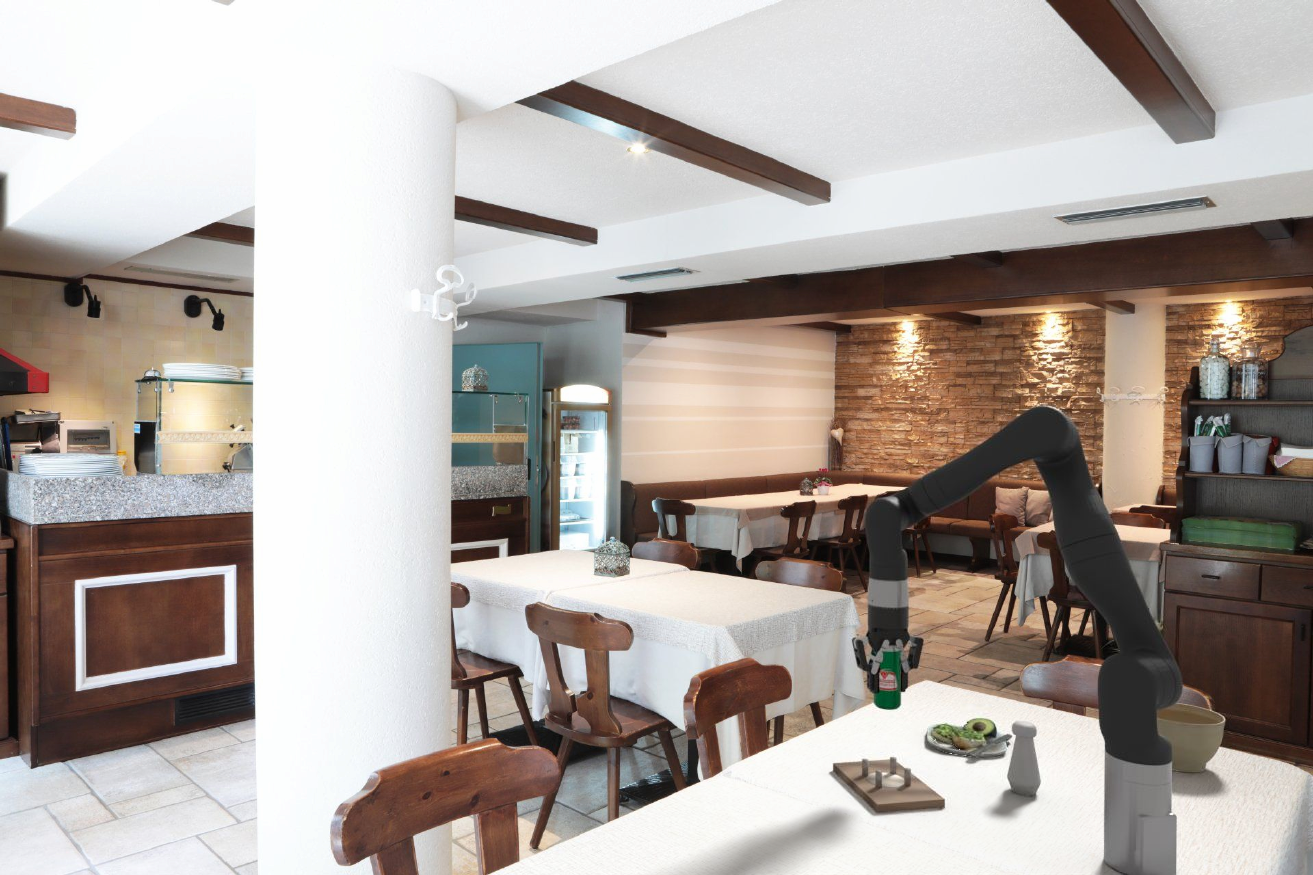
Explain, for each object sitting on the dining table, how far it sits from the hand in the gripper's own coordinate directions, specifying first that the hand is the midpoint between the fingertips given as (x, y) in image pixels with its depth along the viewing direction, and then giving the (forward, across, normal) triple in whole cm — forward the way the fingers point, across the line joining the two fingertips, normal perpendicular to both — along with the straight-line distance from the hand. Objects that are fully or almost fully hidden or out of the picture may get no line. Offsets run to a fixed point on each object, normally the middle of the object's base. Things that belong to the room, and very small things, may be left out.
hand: (887, 691), depth 165 cm
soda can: (+3, 0, 0) cm, 3 cm away
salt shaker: (+19, +25, -6) cm, 32 cm away
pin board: (+18, 0, 0) cm, 18 cm away
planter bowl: (+19, +65, +1) cm, 68 cm away
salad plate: (+19, +29, +20) cm, 40 cm away
